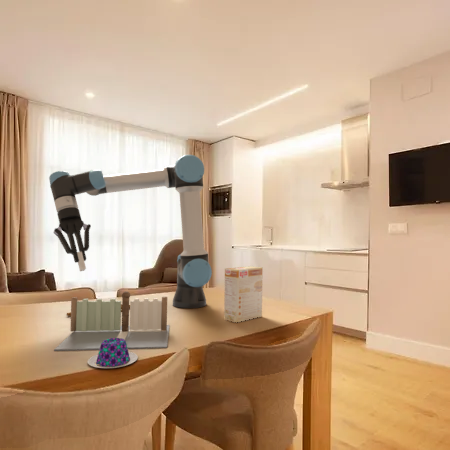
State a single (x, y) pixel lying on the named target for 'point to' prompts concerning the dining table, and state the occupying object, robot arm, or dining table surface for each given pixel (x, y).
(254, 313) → the coffeecake box
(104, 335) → the card
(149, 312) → the fixed panel
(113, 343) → the pudding
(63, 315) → the dining table surface
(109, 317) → the panel
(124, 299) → the hinge post
